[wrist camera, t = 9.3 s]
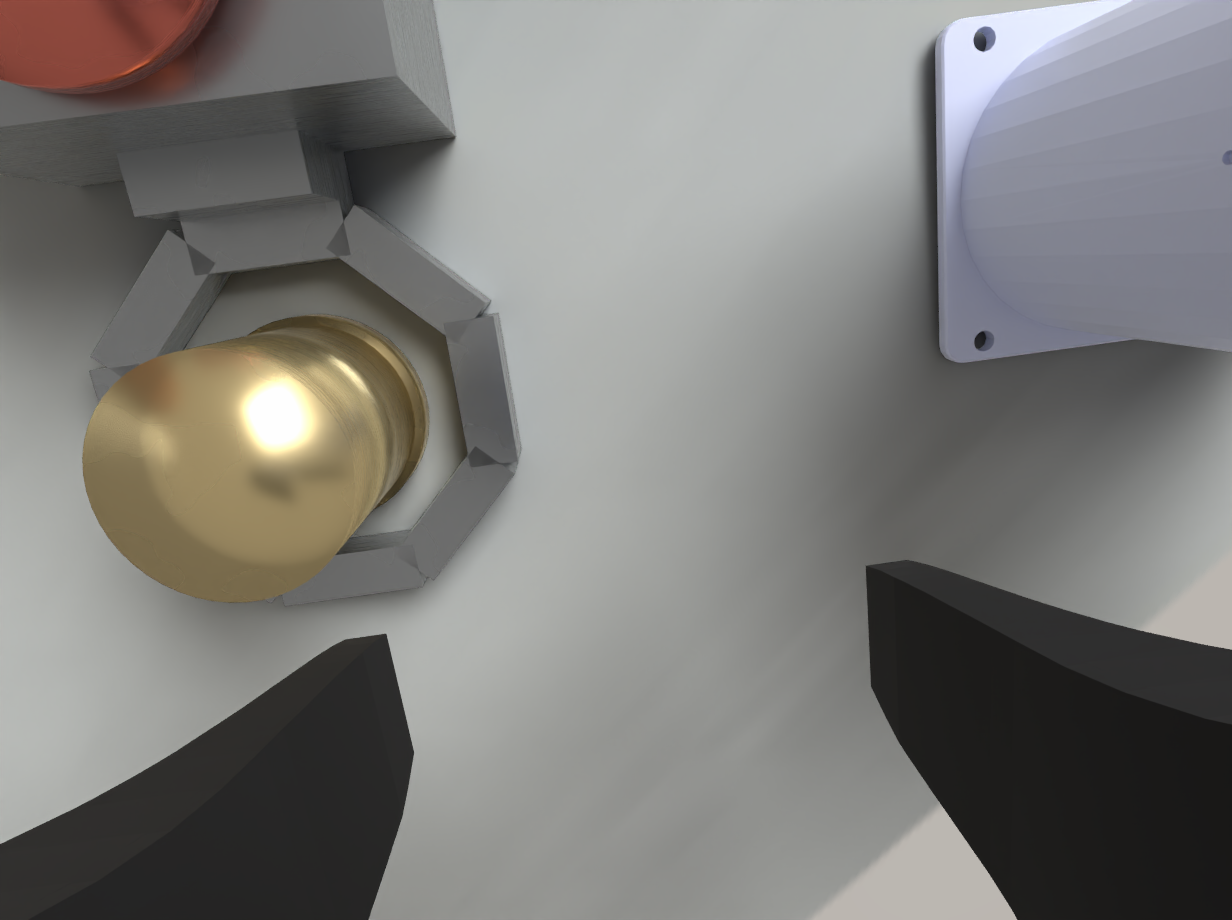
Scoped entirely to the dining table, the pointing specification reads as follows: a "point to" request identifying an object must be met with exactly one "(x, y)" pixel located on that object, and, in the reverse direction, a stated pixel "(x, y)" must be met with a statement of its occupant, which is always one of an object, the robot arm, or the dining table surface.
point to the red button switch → (260, 192)
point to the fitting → (254, 454)
